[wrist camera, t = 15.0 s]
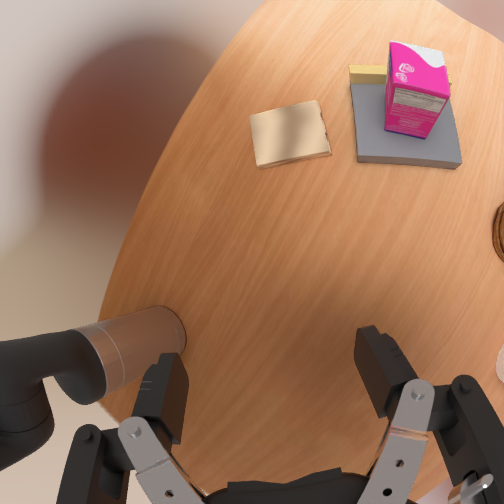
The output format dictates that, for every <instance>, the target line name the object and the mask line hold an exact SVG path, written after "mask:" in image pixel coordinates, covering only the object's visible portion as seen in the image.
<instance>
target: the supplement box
mask: <svg viewBox="0 0 504 504" xmlns="http://www.w3.org/2000/svg"><path fill="white" fill-rule="evenodd" d="M449 98H450V87H449V80H448V74H447V69H446V64H445V60H444V55H443V52H442V51H438V50H434V49H430V48H425V47H421V46H416V45H412V44H407V43H402V42H397V41H390V44H389V57H388V67H387V77H386V85H385V126H384V130H385V131H389V132H394V133H399V134H404V135H409V136H413V137H418V138H422V139H426V138H427V136H428V134H429V133H430V131H431V129H432V128H433V126H434V124H435V123H436V121H437V119H438V117H439V116H440V114H441V112H442V110H443V109H444V107H445V105H446V103H447V101H448V100H449Z"/></svg>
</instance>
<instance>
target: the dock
mask: <svg viewBox="0 0 504 504" xmlns="http://www.w3.org/2000/svg"><path fill="white" fill-rule="evenodd" d="M387 67H388V66H380V65H349V74H350V88H351V95H352V103H353V112H354V122H355V133H356V146H357V162H358V163H383V164H401V165H415V166H427V167H437V168H446V169H456V168H457V167H458V166H460V165H461V164H462V158H461V151H460V145H459V140H458V134H457V129H456V124H455V120H454V115H453V111H452V107H451V103H450V99H449V100H448V101H447V103H446V105H445V107H444V109H443V110H442V112H441V114H440V116H439V117H438V119H437V121H436V123H435V124H434V126H433V128H432V129H431V131H430V133H429V134H428V136H427V138H426V139H422V138H418V137H413V136H409V135H404V134H399V133H394V132H389V131H385V130H384V126H385V85H386V77H387ZM448 80H449V87H450V86H451V84H452V81H451V78H450V75H449V74H448Z"/></svg>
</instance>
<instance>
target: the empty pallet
mask: <svg viewBox="0 0 504 504" xmlns="http://www.w3.org/2000/svg"><path fill="white" fill-rule="evenodd" d="M321 116H322V114H321V110H320V107H319V103H317V101H316V100H313V101H308V102H303V103H299V104H294V105H289V106H285V107H281V108H277V109H273V110H269V111H265V112H261V113H257V114H254V115H250V116H249V118H250V124H251V131H252V137H253V144H254V150H255V157H256V163H257V168H258V169H264V168H268V167H273V166H277V165H282V164H287V163H292V162H297V161H302V160H307V159H312V158H318V157H323V156H329V155H332V154H331V150H330V146H329V141H328V140H327V139H326V135H327V133H326V129H325V125H324V121H322V119H321Z"/></svg>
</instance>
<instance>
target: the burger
mask: <svg viewBox="0 0 504 504" xmlns="http://www.w3.org/2000/svg"><path fill="white" fill-rule="evenodd" d="M493 243H494V247H495V249H496V251H497V254H498V255H499V257H500V258H501V259H502V260H503V261H504V203H503V204H502V205H501V206H500V208H499V209H498V215H497V218H496V221H495V224H494V237H493Z"/></svg>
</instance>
